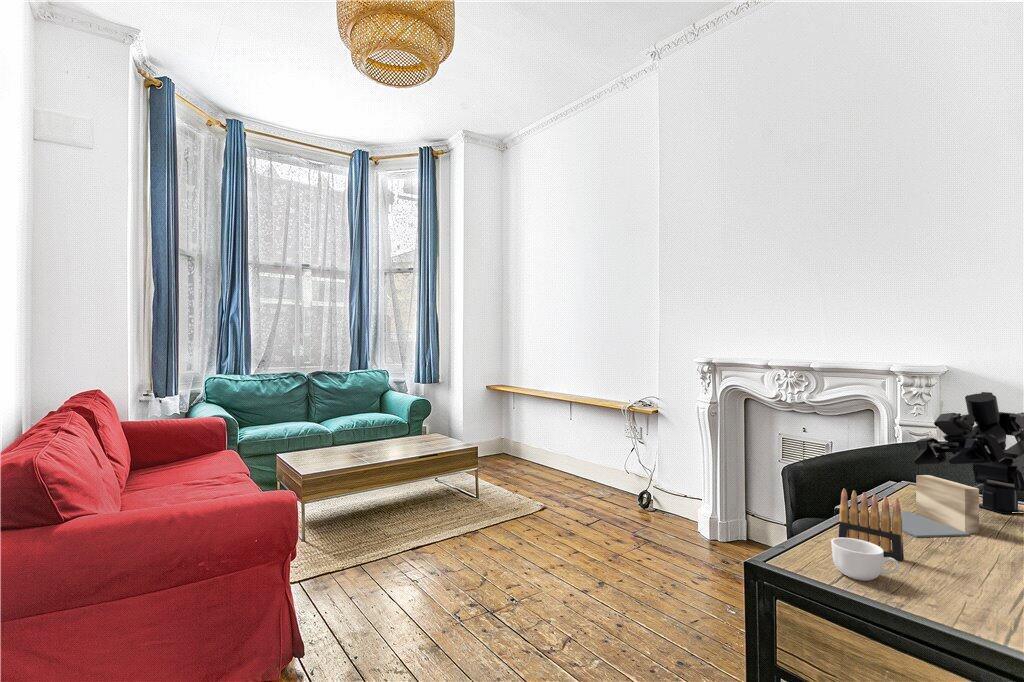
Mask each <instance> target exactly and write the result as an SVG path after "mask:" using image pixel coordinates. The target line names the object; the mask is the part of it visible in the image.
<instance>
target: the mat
mask: <svg viewBox="0 0 1024 682" xmlns="http://www.w3.org/2000/svg"><path fill="white" fill-rule="evenodd" d="M881 514H882V511H879V516H880V523H881ZM892 516H893V511H890V518H891V528H892ZM869 517H870V512H869ZM901 519H902V531H903V532H902V533H905V534H907V535H909V536H912V537H914V538H936V537H937V538H938V537H941V538H942V537H943V538H945V537H971V533H966V532H963V531H961V530H958V529H955V528H952V527H950V526H947V525H944V524H942V523H939V522H936V521H933V520H931V519H928V518H925V517H923V516H920V515H917V514H916V513H914V512H911V511H901Z"/></svg>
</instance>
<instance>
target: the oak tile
mask: <svg viewBox="0 0 1024 682" xmlns="http://www.w3.org/2000/svg"><path fill="white" fill-rule="evenodd" d="M915 476H916V477H915V481H916V483H915V487H916V488H915V492H916V493H915V495H916V496H915V501H916V503H915V504H916V506H915V509H916V510H915V511H916V512H915V514H917V515H920V516H923V517H925V518H928V519H931V520H933V521H936V522H939V523H942V524H944V525H947V526H950V527H952V528H955V529H958V530H961V531H963V532H966V533H969V534H979V533H980V507H979V504H980V489H979V488H977V487H974V486H970V485H966V484H963V483H959V482H956V481H952V480H948V479H945V478H942V477H941V478H940V477H937V476H934V475H930V474H922V475H921V474H920V475H919V474H917V475H915Z"/></svg>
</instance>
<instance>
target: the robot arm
mask: <svg viewBox="0 0 1024 682" xmlns="http://www.w3.org/2000/svg"><path fill="white" fill-rule="evenodd" d="M964 399H965V403H966V408H967V409H966V410H967V413H966V414H961V412H960V413H958V412H957V413H956V412H948V413H940V414H939V416H938V417H937V418H936V419H935V421H934V422H933V425H934V426H935V427H937V428H938V429H939V430H940V431H941V432H942V433H943V434H944V435H943V436H942V438H943V439H944V441H945V442H939V440H938V439H936V438H935V437H929V438H920V439H918V440H916V441H915V443H914V444H915V445H916V446H917V449H918V450H919V453H918V454H917V455H916V457H915V458H914V460H913V462H914V464H915V465H916V466H918V465H935V464H936V465H937V464H941V463H944V462H945V461H948V463H949V464H950V465H967V464H972V470H973V472H972V473H973V476H974V482H975V484H980V485H981V484H983V488H982V489H983V490H982V501H981V502H982V503H979V508H982V509H986V510H989V511H992V512H995V511H996V513H998V512H1000V513H999V514H1002V513H1012V512H1024V510H1021V509H1019V492H1024V472H1023V470H1022V468H1023V467H1024V411H1023V412H1018V413H1016V412H1015V413H1013V412H1004V411H999V404H998V399H997V396H996V395H994V394H993V392H988V391H981V392H980V393H979V392H978V393H973V394H968V395H966V396H965V397H964ZM975 424H976V425H975ZM1007 436H1012V437H1014V439H1015V440H1016V443H1014V444H1013V445H1011V446H1010V447H1008V448H1007V443H1006V442H1007V440H1006V439H1007ZM946 453H951V454H952V456H950V458H949V459H948V460H947V454H946Z"/></svg>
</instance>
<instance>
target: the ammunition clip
mask: <svg viewBox="0 0 1024 682" xmlns="http://www.w3.org/2000/svg"><path fill="white" fill-rule="evenodd" d="M877 496H878V495H876V493H874V494H873V495H872V498H871V502H870V504H871V505H870V511H869V503H868V502H869V501H868V500H869V499H868V495H867V494H866V492H865V491H864V492H862V495H861V498H860V510H859V502H858V494H857V491H856V490H855V489H854V490H852V493H851V496H850V506H849V501H848V500H849V498H848V492H847V489H846V488H843V489H842V491H841V495H840V506H839V522H838V523H839V524H838V537H837V538H840V537H842V538H853V539H858V540H863V541H867V542H870V543H873V544H875V545H877V546H879V547H881V548H882V549H883V551H884V553H883V557H891V558H893V559H895V560H896V561H897V562H900V563H902V562H903V561H904V560H905V556H904V541H903V532H902V519H901V512H902V510H901V503H900V499H899V498H898V497H896V498H895V499H894V501H893V506H892V507H893V508H892V512H893V516H892V527H891V518H890V512H891V511H890V503H889V502H890V501H889V498H888V497H887V495H885V496H884V497H883V499H882V501H881V502H882V503H881V512H882V514H881V522H880V516H879V512H880V510H879V500H878V497H877ZM869 513H870V518H869Z"/></svg>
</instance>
